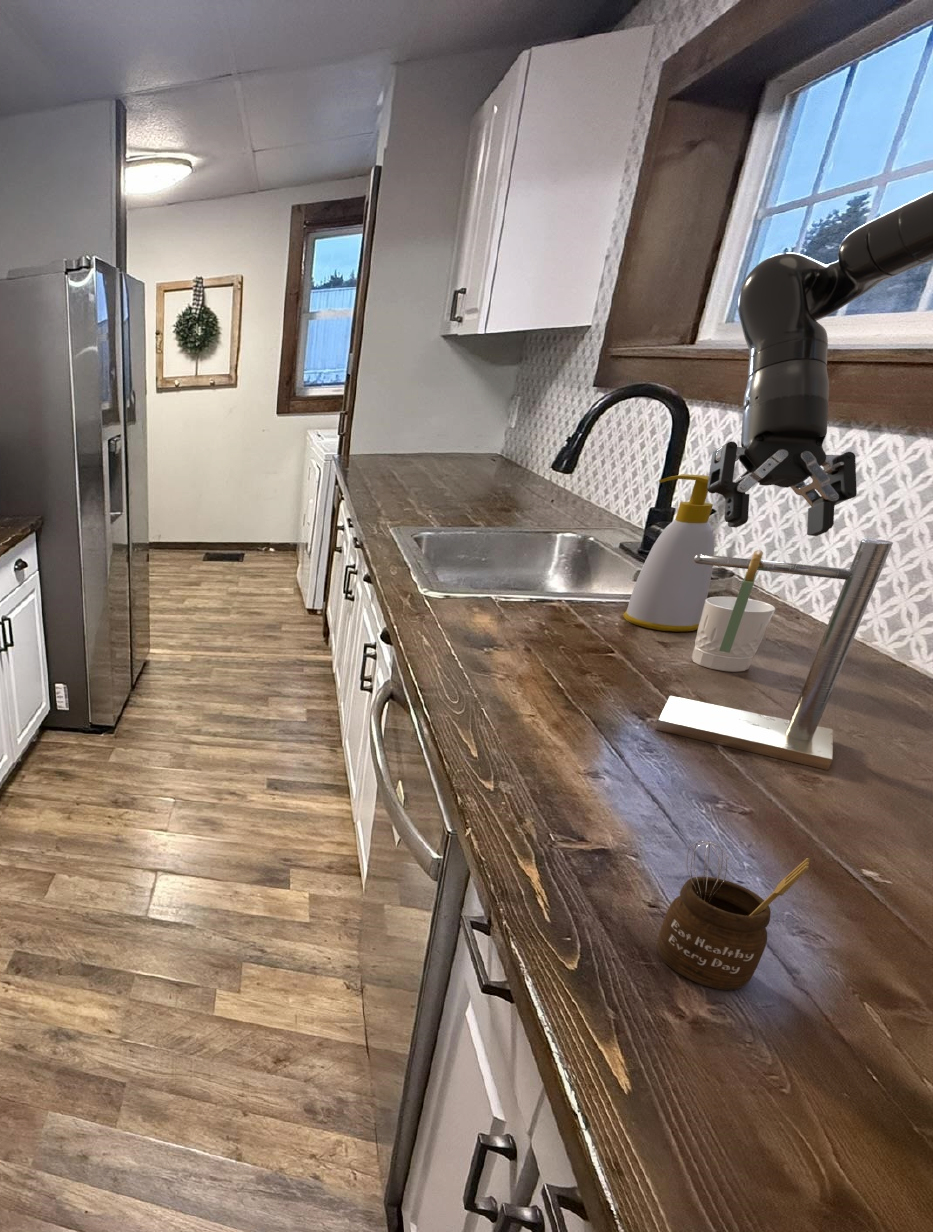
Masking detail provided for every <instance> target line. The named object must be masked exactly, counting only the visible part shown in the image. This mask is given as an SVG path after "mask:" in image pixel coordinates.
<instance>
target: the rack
mask: <svg viewBox="0 0 933 1232" xmlns="http://www.w3.org/2000/svg"><path fill="white" fill-rule="evenodd" d="M893 544H894V542H893V541H890V540H885V539H877V538H862V539H861V540H860V541H859V544H858V547H857V549H856V552H855V554H854V557H853V559H852V562H851V565H850V567H849V568H840V567H831V566H821V565H811V564H801V563H800V564H799V563H791V562H781V561H771V560H764V559H763V560H762V559H761V560H760V563H759V566H758V569H757V571H761V572H762V571H763V572H770V573H771V572H772V573H781V574H790V575H799V576H806V577H807V576H808V577H816V578H825V579H835V580H843V581H844V582H843V585H842V587H841V590H840V593H839V595H838V597H837V600H836V603H835V605H834V607H833V611H832V613H831V615H830V618H829V620H828V623H827V624H826V625H827V626H826V628H825V630H824V633H823V636H822V638H821V641H820V644H819V645H818V648H817V651H816V653H815V656H814V659H813V661H812V663H811V666H810V669H809V671H808V673H807V676H806V678H805V681H804V684H803V687H802V689H801V691H800V695H799V696H798V699H797V700H796V701H797V702H796V704H795V707H794V709H793V712H792V715H791V717H790V719H785V718H781V717H777V716H776V717H775V716H771V715H766V714H761V713H756V712H752V711H747V710H742V709H737V708H734V707H733V708H732V707H727V706H722V705H717V704H713V703H708V702H703V701H699V700H693V699H688V698H684V697H679V696H674V695H669V696H668V698H667V699H666V702H665V704H664V707H663V709H662V711H661V713H660V714H659V716H658V719H657V722H656V725H655V728H654V730H655V731H660V732H664V733H667V734H672V735H677V736H682V737H686V738H690V739H694V740H698V741H702V742H706V743H710V744H715V745H719V746H722V747H723V746H724V747H728V748H730V749H731V748H733V749H736V750H740V751H745V752H749V753H752V754H753V753H754V754H757V755H762V756H765V757H769V758H770V757H771V758H775V759H778V760H783V761H787V762H792V763H796V764H799V765H803V766H804V765H805V766H809V767H811V768H812V767H813V768H817V769H822V770H826V771H829V769H830V767H831V765H832V762H833V758H834V729H833V728H829V727H823V726H819V723H820V722H821V719H822V716H823V715H824V712H825V709H826V707H827V704H828V702H829V700H830V698H831V694H832V692H833V690H834V687H835V685H836V682H837V680H838V677H839V676H840V673H841V670H842V668H843V666H844V663H845V661H846V658H847V656H848V653H849V651H850V648H851V646H852V644H853V642H854V639H855V636H856V634H857V632H858V630H859V627H860V625H861V622H862V619H863V617H864V615H865V612H866V609H867V608H868V605H869V603H870V600H871V598H872V595H873V592H874V591H875V588H876V586H877V583H878V581H879V578H880V576H881V574H882V571H883V568H884V566H885V563H886V561H887V559H888V557H889V554H890V551H891V549H892V546H893ZM751 559H752V558H743V557H742V558H741V557H740V558H739V557H731V556H723V555H715V554H714V555H704V554H699V555H696V556H695V557H694V562H695V563H697V564H706V565H713V566H716V567H725V568H734V569H741V570H748V567H749V565H750V562H751Z"/></svg>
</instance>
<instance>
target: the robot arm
mask: <svg viewBox="0 0 933 1232" xmlns="http://www.w3.org/2000/svg"><path fill="white" fill-rule="evenodd" d="M931 261H933V190H932V191H930V192H928V193H926V194H924V195H922V196H920V197H918V198H916V199H914V200H911V201H909V202H908V203H905V204H903V205H901V206H899V207H897V208H895V209H893V210H891V211H889V212H887V213H885V214H883V215H881V216H878V217H876V218H875V219H873V220H871V221H868V222H866V223H865V224H863V225H861V226H859V227H857V228H856V229H854V230H853V231H851V232H850V233H849V234H847V236H845V238H844V239H843V240H842V241H841V243H840V245H839V248H838V251H837V260H836V261H833V262H831V263H828V264H825V263H823V262H821V261H818V260H816V259H813V258H811V257H810V256H809V257H808V256H807V255H804V254H801V253H797V252H782V253H778V254H775V255H774V254H773V255H772V256H769V257H767V258H765V259H764V260H763V261H760V262H759V263H758V264H757V265H756V266H755V267H754V268H753V269H751V271H750V272H749V273H748V275H747V276H746V278H745V279H744V281H743V282H742V285H741V286H740V289H739V293H738V297H737V313H738V318H739V322H740V325H741V329H742V332H743V336H744V339H745V343H746V345H747V348H748V352H749V355H748V356H749V357H748V365H747V366H748V367H747V383H746V387H745V392H744V396H743V403H742V404H743V405H742V420H741V433H740V435H741V436H740V437H741V438H740V446H738V444H737V442H735V441H728V442H727V443H725V444H723V445H721V446H720V447H718V448H716V449H715V450H713V451H712V453H711V459H710V466H709V473H708V476H709V479H708V486H707V490H708V493H709V494H718V495H721V496H722V498H723V499H724V500H725V502H724V518H723V519H724V521H725V523H727V527H729V528H738V527H741V526H743V525H746V524H747V522H748V521H749V510H750V494H751V493H747V492H748V491H749V490H751V489H752V488H753V487H754V486H755V485H756V484H757V483H758V484H759V486H766V487H767V486H776V487H779V488H790V489H791V490H792V491H793V492H794V493H795V494H796V495H797V496H802V498H803V499H804V500H805V501H806V502H807V504H808V505H809V506H810V507H808V508H807V525H806V526H807V527H806V529H807V530H806V535H807V536H810V537H818V536H821V535H824V534H825V533H827V532H829V530H831V529H833V526H834V523H835V506H837V505H840V504H841V503H844V502H846V501H848V500H852V499H853V498H855V497H857V495H858V491H857V490H858V489H857V465H856V463H857V461H856V454H855V453H854V452H852V451H846V452H843V453H841V454H826V452H825V450H824V447H823V444H824V441H825V439H826V437H827V435H828V421H829V420H828V416H829V396H830V393H829V392H830V380H829V374H828V352H829V351H828V347H829V339H828V332H827V330H826V328H825V327H824V326H823V325H822V324H821V323H820V322H818V321H820V320H822V319H824V318H827V317H828V316H830V315H832V314H834V313H836V312H838V311H839V310H840V309H842V308H843V307H845V306H847V305H848V304H849V303H851V302H853V301H855V300H856V299H857V298H859V297H861V296H862V295H864V294H866V293H867V292H868V291H870V290H872V289H873V288H874V287H876V286H878V285H879V284H880V283H882V282H884V281H885V280H888V279H890V278H892V277H896V276H898V275H900V274H903V273H905V272H907V271H910V270H912V269H915V268H918V267H920V266H922V265H924V264H927V263H929V262H931ZM737 461H739V462H740V464H741V465H742V466H743V468H745V471H744V472H743V473H742V474H741V475H740V476H739V477H737V479H736V480H734V475H735V474H734V473H735V466H736V462H737ZM809 478H810V479H811V480H812V482H810V483H806V482H805V481H806V480H808V479H809ZM733 480H734V481H733Z"/></svg>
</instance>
